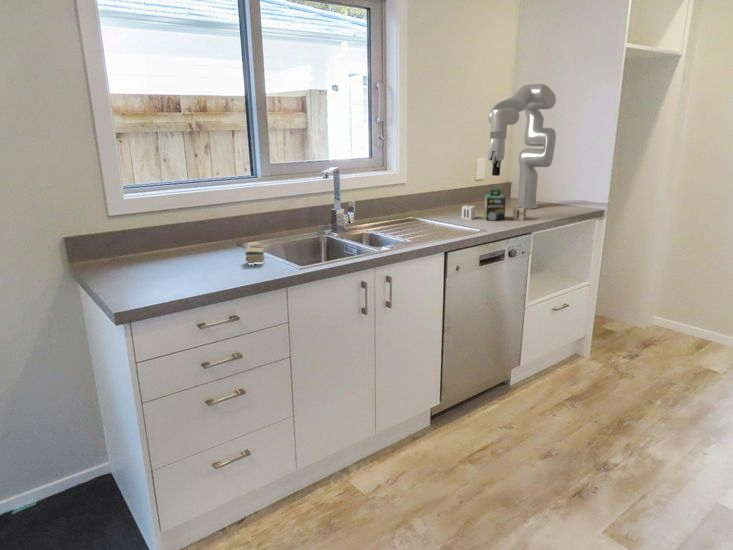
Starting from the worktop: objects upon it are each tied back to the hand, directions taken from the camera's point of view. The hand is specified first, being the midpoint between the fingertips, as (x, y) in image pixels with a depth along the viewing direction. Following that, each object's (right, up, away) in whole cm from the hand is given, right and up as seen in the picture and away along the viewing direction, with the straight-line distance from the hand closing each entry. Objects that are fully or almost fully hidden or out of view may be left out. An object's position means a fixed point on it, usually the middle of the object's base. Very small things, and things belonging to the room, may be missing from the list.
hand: (495, 175), depth 250 cm
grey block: (-12, -20, +10) cm, 25 cm away
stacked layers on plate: (-102, -45, -64) cm, 129 cm away
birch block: (+13, -21, +5) cm, 25 cm away
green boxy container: (+1, -21, +7) cm, 22 cm away
